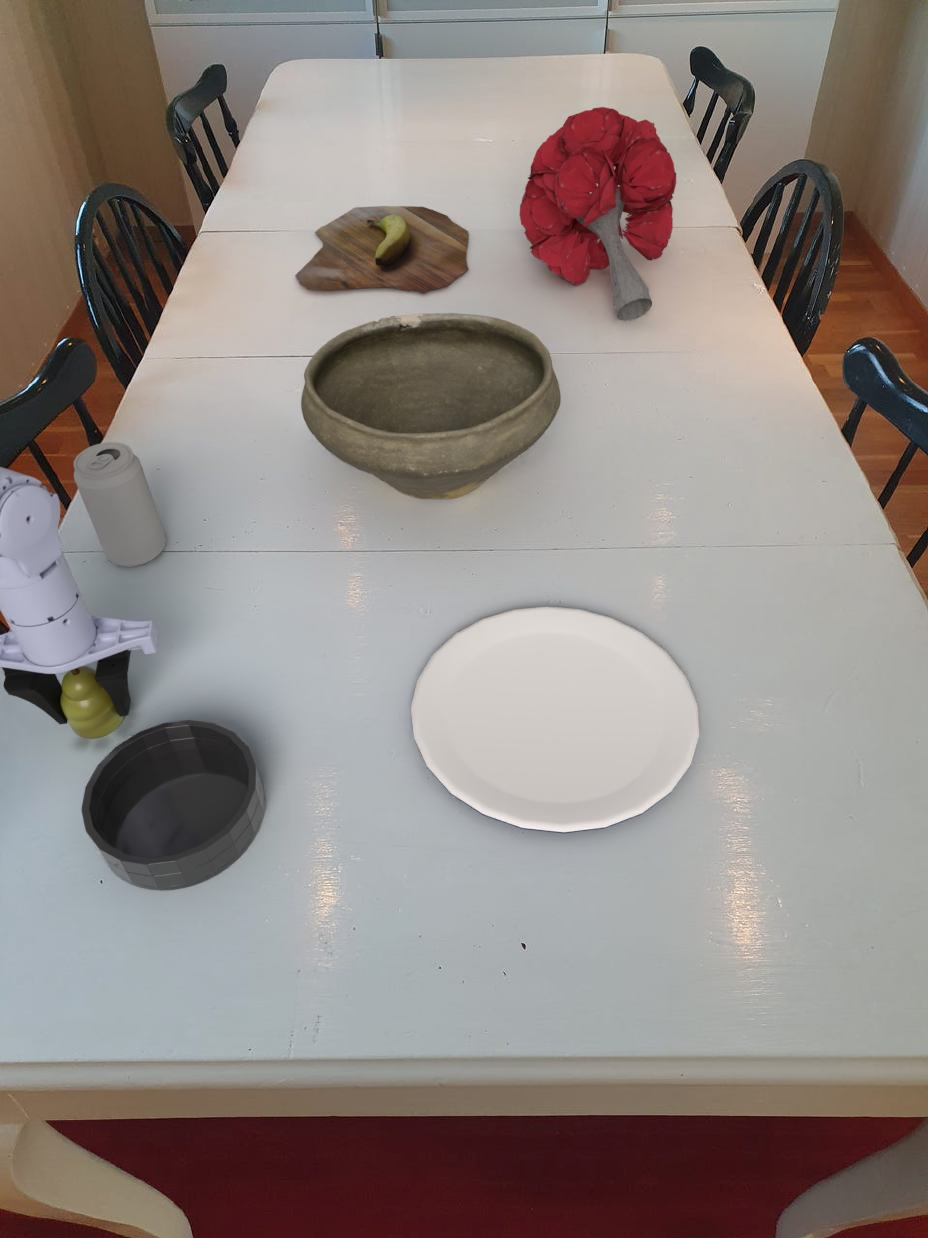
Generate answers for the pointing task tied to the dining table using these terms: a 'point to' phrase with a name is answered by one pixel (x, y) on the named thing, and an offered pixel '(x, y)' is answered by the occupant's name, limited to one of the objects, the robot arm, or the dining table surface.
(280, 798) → the dining table surface
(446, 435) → the bowl
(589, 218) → the bouquet
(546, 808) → the plate
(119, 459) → the beverage can
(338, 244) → the cutting board
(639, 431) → the dining table surface
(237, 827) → the pan
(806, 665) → the dining table surface
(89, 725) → the pear
